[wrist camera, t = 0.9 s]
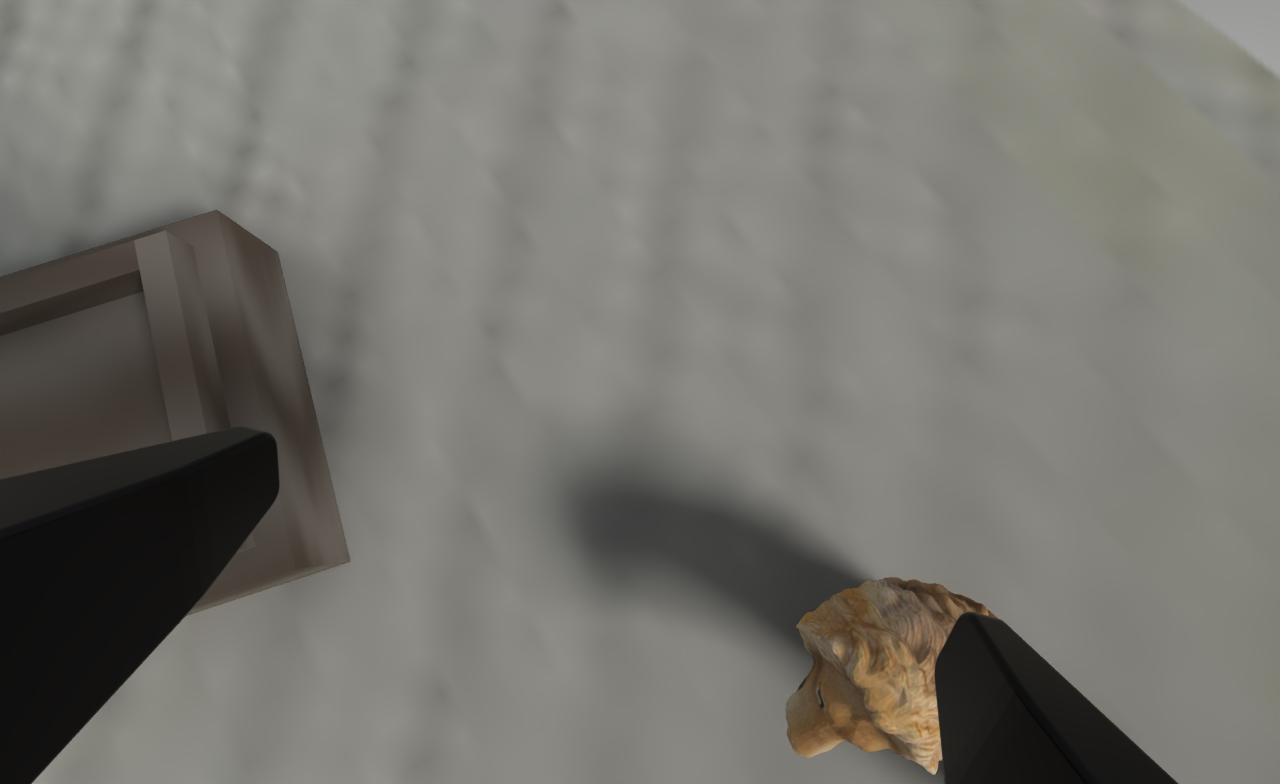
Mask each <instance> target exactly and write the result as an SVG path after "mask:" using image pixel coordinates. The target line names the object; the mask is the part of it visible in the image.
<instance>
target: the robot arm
mask: <svg viewBox="0 0 1280 784" xmlns="http://www.w3.org/2000/svg"><path fill="white" fill-rule="evenodd" d="M279 488H280V477H279V462H278V447H277V441H276V439H275V437H274V435H272V434H271V433H270V432H267V431H263V430H259V429H255V428H251V427H247V426H237V427H233V428H228V429H224V430H219V431H215V432H210V433H206V434H201V435H197V436H192V437H188V438H183V439H179V440H174V441H170V442H165V443H161V444H156V445H152V446H147V447H143V448H138V449H133V450H129V451H124V452H120V453H115V454H111V455H106V456H102V457H97V458H93V459H88V460H84V461H79V462H75V463H70V464H66V465H61V466H57V467H52V468H48V469H43V470H39V471H34V472H30V473H25V474H21V475H16V476H12V477H7V478H3V479H0V784H32V783H33V781H34V780H35V779H36V778H37V777H38V776H39V775H40V774H41V773H42V772H43V771H44V769H45V768H46V767H47V766H48V765H49V764H50V763H51V762H52V761H53V760H54V759H55V757H56V756H57V755H58V754H59V753H60V752H61V751H62V750H63V749H64V748H65V747H66V746H67V744H68V743H69V742H70V741H71V740H72V739H73V738H74V737H75V736H76V735H77V734H78V732H79V731H80V730H81V729H82V728H83V727H84V726H85V725H86V724H87V723H88V722H89V720H90V719H91V718H92V717H93V716H94V715H95V714H96V713H97V712H98V711H99V710H100V709H101V707H102V706H103V705H104V704H105V703H106V702H107V701H108V700H109V699H110V698H111V697H112V695H113V694H114V693H115V692H116V691H117V690H118V689H119V688H120V687H121V686H122V685H123V683H124V682H125V681H126V680H127V679H128V678H129V677H130V676H131V675H132V674H133V673H134V672H135V670H136V669H137V668H138V667H139V666H140V665H141V664H142V663H143V662H144V661H145V660H146V658H147V657H148V656H149V655H150V654H151V653H152V652H153V651H154V650H155V649H156V648H157V646H158V645H159V644H160V643H161V642H162V641H163V640H164V639H165V638H166V637H167V636H168V635H169V633H170V632H171V631H172V630H173V629H174V628H175V627H176V626H177V625H178V624H179V623H180V621H181V620H182V619H183V618H184V617H185V616H186V615H187V614H188V613H189V612H190V610H191V609H192V608H193V607H194V606H195V605H196V604H197V603H198V601H199V600H200V599H201V598H202V597H203V596H204V594H205V593H206V592H207V591H208V589H209V588H210V587H211V586H212V584H213V583H214V582H215V581H216V579H217V578H218V577H219V575H220V574H221V573H222V571H223V570H224V569H225V567H226V566H227V565H228V563H229V562H230V561H231V559H232V558H233V557H234V555H235V554H236V553H237V551H238V550H239V549H240V547H241V546H242V545H243V543H244V542H245V541H246V540H247V538H248V537H249V536H250V534H251V533H252V532H253V530H254V529H255V528H256V526H257V525H258V524H259V522H260V521H261V520H262V518H263V517H264V516H265V514H266V513H267V512H268V510H269V509H270V508H271V506H272V505H273V503H274V502H275V500H276V498H277V496H278V493H279ZM934 678H935V689H936V699H937V709H938V719H939V730H940V740H941V750H942V760H943V770H944V780H945V784H1178V783H1177V782H1176V781H1175V780H1174V779H1173V778H1172V777H1171V776H1170V775H1168V774H1167V773H1166V772H1165V771H1164V770H1163V769H1162V768H1161V767H1160V766H1159V765H1158V764H1157V763H1156V762H1154V761H1153V760H1152V759H1151V758H1150V757H1149V756H1148V755H1147V754H1146V753H1145V752H1144V751H1143V750H1142V749H1140V748H1139V747H1138V746H1137V745H1136V744H1135V743H1134V742H1133V741H1132V740H1131V739H1130V738H1129V737H1128V736H1126V735H1125V734H1124V733H1123V732H1122V731H1121V730H1120V729H1119V728H1118V727H1117V726H1116V725H1115V724H1114V723H1112V722H1111V721H1110V720H1109V719H1108V718H1107V717H1106V716H1105V715H1104V714H1103V713H1102V712H1101V711H1100V710H1098V709H1097V708H1096V707H1095V706H1094V705H1093V704H1092V703H1091V702H1090V701H1089V700H1088V699H1087V698H1086V697H1084V696H1083V695H1082V694H1081V693H1080V692H1079V691H1078V690H1077V689H1076V688H1075V687H1074V686H1073V685H1071V684H1070V683H1069V682H1068V681H1067V680H1066V679H1065V678H1064V677H1063V676H1062V675H1061V674H1060V673H1059V672H1057V671H1056V670H1055V669H1054V668H1053V667H1052V666H1051V665H1050V664H1049V663H1048V662H1047V661H1046V660H1045V659H1043V658H1042V657H1041V656H1040V655H1039V654H1038V653H1037V652H1036V651H1035V650H1034V649H1033V648H1032V647H1031V646H1029V645H1028V644H1027V643H1026V642H1025V641H1024V640H1023V639H1022V638H1021V637H1020V636H1019V635H1018V634H1017V633H1015V632H1014V631H1013V630H1012V629H1011V628H1010V627H1009V626H1008V625H1007V624H1006V623H1005V622H1003V621H1002V620H1000V619H998V618H995V617H992V616H988V615H984V614H980V613H976V612H972V611H968V612H964V613H963V614H962V615H960V617H959V618H958V619H957V621H956V623H955V625H954V627H953V629H952V631H951V632H950V634H949V636H948V638H947V640H946V642H945V644H944V646H943V648H942V649H941V651H940V653H939V655H938V658H937V660H936V664H935V672H934Z"/></svg>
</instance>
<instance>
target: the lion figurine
mask: <svg viewBox="0 0 1280 784" xmlns="http://www.w3.org/2000/svg"><path fill="white" fill-rule="evenodd" d="M968 611H972V612H976V613H980V614H984V615H988V616H992V617H995V618H997V617H996V616H995V615H993V614H992V613H991V612H990V611H989V610H987V609H986V607H985V606H984V605H983V604H980V603H977V602H975V601H973V600H971V599H969V598H967V597H965V596H963V595H958V594H953V593H952V592H950V591H948V590H947V589H946V588H945V587H944V586H942V585H940V584H936V583H935V584H927V583H922V582H920V581H918V580H909V581H903V580H901V579H899V578H894V577H890V578H884V579H882V580H878V581H874V580H868V581H866V582H864V583H863V584H861V585H860V586H859V587H858V588H850V589H849V588H846V589H844V590H843V591H842V592H839V593H837V594H835V595H832V596H831V598H830V600H826V601H824V602H823V603H822V604H821V605H820V606H819V607H818V608H817V609H816V610H815V611H811V612H807V613H806V614H805V615H804V616H803V618H802V619H801V620H800V622H799V623H798V624H797V626H796V628H798V629H799V632H800V635H801V637H802V639H803V640H804V646H805V648H806V650H807V651H808V652H809V653H810V654H811V656H812V657H813V659H814V663H813V667H812V670H811V671H810V673H809V674H808V676H807V677H806V678H805V679H804V681H803V682H802V683H801V685H800V686H799V688H798V690H797V691H796V693H794V694H793V695H792V696H791V697H790V698H789V699H788V701H787V703H786V708H785V711H786V719H787V723H788V729H787V736H788V738H789V741H790V743H791V746H792V748H793V750H794V751H795V752H796V753H797V754H798V755H800V756H802V757H807V758H811V757H813V756H815V755H816V754H819V753H824V752H827V751H829V750H831V749H832V748H833V747H835V746H836V745H837V744H838V743H840V742H843V741H849V742H850V743H852V744H854V745H856V746H858V747H859V748H861V749H862V750H864V751H869V752H873V751H878V750H882V749H891V750H892V751H894V752H896V753H897V754H899V755H902V756H903V757H904V758H905V759H907V760H912V761H914V762H917V763H918V764H920V765H922V766H923V767H924V768H925V769H926V770H927V771H928V772H930V773H931V774H932V775H935V774H936V772H937V769H938V762H939V761H941V760H942V750H941V740H940V730H939V719H938V709H937V699H936V689H935V678H934V672H935V664H936V660H937V658H938V655H939V653H940V651H941V649H942V648H943V646H944V644H945V642H946V640H947V638H948V636H949V634H950V632H951V631H952V629H953V627H954V625H955V623H956V621H957V619H958V618H959V617H960V615H962V614H963V613H964V612H968Z"/></svg>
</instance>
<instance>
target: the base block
mask: <svg viewBox="0 0 1280 784" xmlns="http://www.w3.org/2000/svg"><path fill="white" fill-rule="evenodd" d="M237 426H247V427H251V428H255V429H259V430H263V431H267V432H270V433H271V434H272V435H274V437H275V439H276V441H277V447H278V462H279V477H280V488H279V493H278V496H277V498H276V500H275V502H274V503H273V505H272V506H271V508H270V509H269V510H268V512H267V513H266V514H265V516H264V517H263V518H262V520H261V521H260V522H259V524H258V525H257V526H256V528H255V529H254V530H253V532H252V533H251V534H250V536H249V537H248V538H247V540H246V541H245V542H244V543H243V545H242V546H241V547H240V549H239V550H238V551H237V553H236V554H235V555H234V557H233V558H232V559H231V561H230V562H229V563H228V565H227V566H226V567H225V569H224V570H223V571H222V573H221V574H220V575H219V577H218V578H217V579H216V581H215V582H214V583H213V584H212V586H211V587H210V588H209V589H208V591H207V592H206V593H205V594H204V596H203V597H202V598H201V599H200V600H199V601H198V603H197V604H196V605H195V606H194V607H193V608H192V609H191V610H190V612H189V613H188V614H187V615H190V614H193V613H196V612H199V611H202V610H205V609H208V608H211V607H214V606H217V605H220V604H223V603H226V602H229V601H232V600H235V599H238V598H241V597H244V596H247V595H250V594H253V593H256V592H259V591H262V590H265V589H268V588H271V587H274V586H277V585H280V584H283V583H286V582H289V581H292V580H295V579H298V578H301V577H304V576H308V575H311V574H314V573H317V572H320V571H323V570H326V569H329V568H332V567H335V566H338V565H341V564H344V563H347V562H350V559H349V554H348V550H347V546H346V542H345V537H344V533H343V529H342V525H341V520H340V516H339V512H338V508H337V503H336V499H335V495H334V491H333V486H332V482H331V478H330V473H329V469H328V465H327V461H326V456H325V452H324V448H323V444H322V439H321V435H320V431H319V427H318V422H317V418H316V414H315V410H314V405H313V401H312V397H311V393H310V388H309V384H308V380H307V376H306V371H305V367H304V363H303V359H302V354H301V350H300V346H299V342H298V337H297V333H296V329H295V325H294V320H293V316H292V312H291V308H290V303H289V299H288V295H287V290H286V286H285V282H284V278H283V273H282V269H281V265H280V261H279V256H278V252H277V251H275V250H274V249H273V248H271V247H270V246H268V245H267V244H265V243H264V242H263V241H261V240H260V239H258V238H257V237H255V236H254V235H252V234H251V233H250V232H248V231H247V230H245V229H244V228H242V227H241V226H240V225H238V224H237V223H235V222H234V221H232V220H231V219H230V218H228V217H227V216H225V215H224V214H222V213H221V212H219V211H218V210H214V211H211V212H208V213H205V214H201V215H198V216H195V217H192V218H189V219H185V220H182V221H179V222H176V223H173V224H169V225H166V226H163V227H160V228H156V229H153V230H150V231H147V232H144V233H140V234H137V235H134V236H131V237H127V238H124V239H121V240H118V241H115V242H111V243H108V244H105V245H102V246H99V247H95V248H92V249H89V250H86V251H82V252H79V253H76V254H73V255H70V256H66V257H63V258H60V259H57V260H53V261H50V262H47V263H44V264H41V265H37V266H34V267H31V268H28V269H25V270H21V271H18V272H15V273H12V274H8V275H5V276H2V277H0V479H3V478H7V477H12V476H16V475H21V474H25V473H30V472H34V471H39V470H43V469H48V468H52V467H57V466H61V465H66V464H70V463H75V462H79V461H84V460H88V459H93V458H97V457H102V456H106V455H111V454H115V453H120V452H124V451H129V450H133V449H138V448H143V447H147V446H152V445H156V444H161V443H165V442H170V441H174V440H179V439H183V438H188V437H192V436H197V435H201V434H206V433H210V432H215V431H219V430H224V429H228V428H233V427H237ZM187 615H186V616H187Z"/></svg>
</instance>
